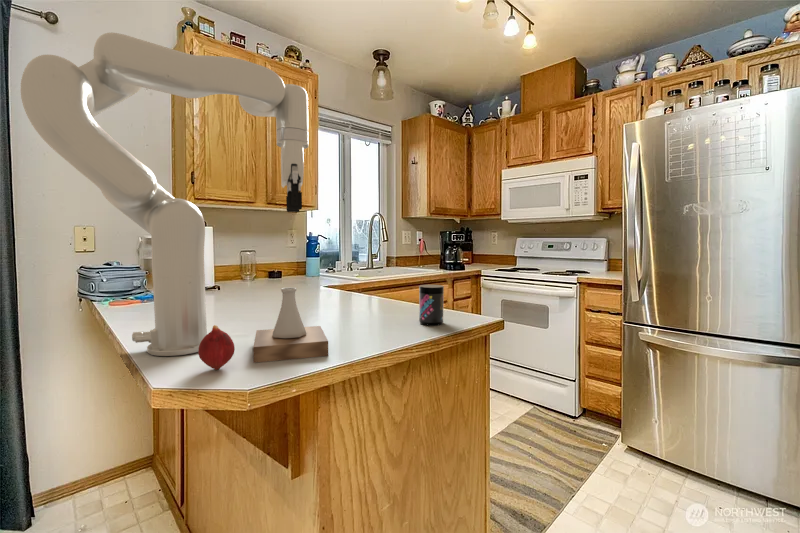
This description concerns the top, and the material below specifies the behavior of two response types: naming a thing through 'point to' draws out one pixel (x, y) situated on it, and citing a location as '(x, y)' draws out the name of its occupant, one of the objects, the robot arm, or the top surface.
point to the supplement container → (431, 304)
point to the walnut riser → (290, 345)
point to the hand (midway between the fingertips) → (294, 210)
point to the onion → (216, 348)
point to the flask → (289, 317)
